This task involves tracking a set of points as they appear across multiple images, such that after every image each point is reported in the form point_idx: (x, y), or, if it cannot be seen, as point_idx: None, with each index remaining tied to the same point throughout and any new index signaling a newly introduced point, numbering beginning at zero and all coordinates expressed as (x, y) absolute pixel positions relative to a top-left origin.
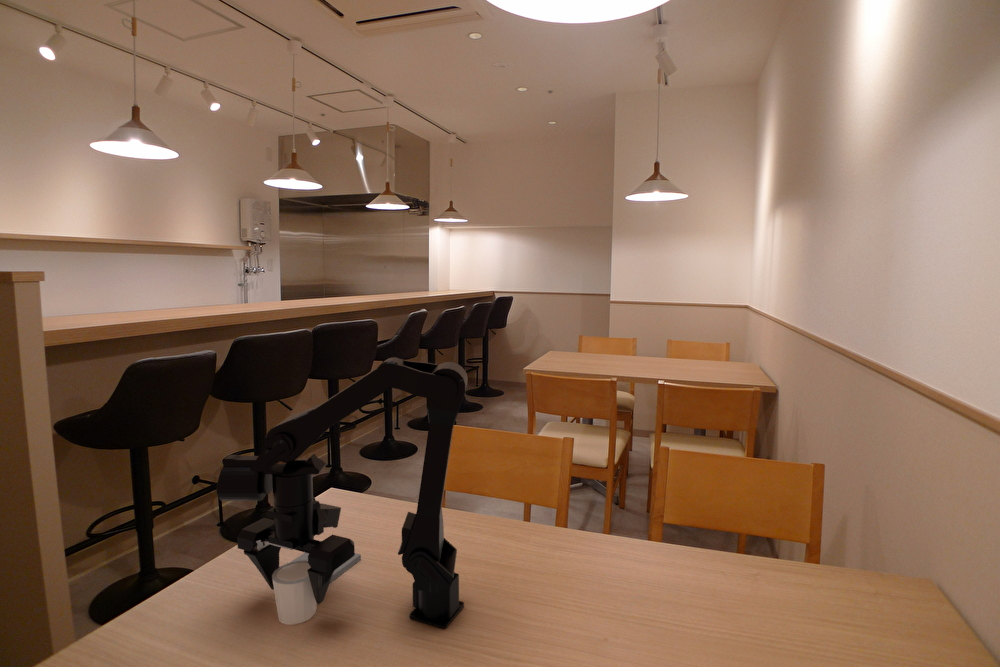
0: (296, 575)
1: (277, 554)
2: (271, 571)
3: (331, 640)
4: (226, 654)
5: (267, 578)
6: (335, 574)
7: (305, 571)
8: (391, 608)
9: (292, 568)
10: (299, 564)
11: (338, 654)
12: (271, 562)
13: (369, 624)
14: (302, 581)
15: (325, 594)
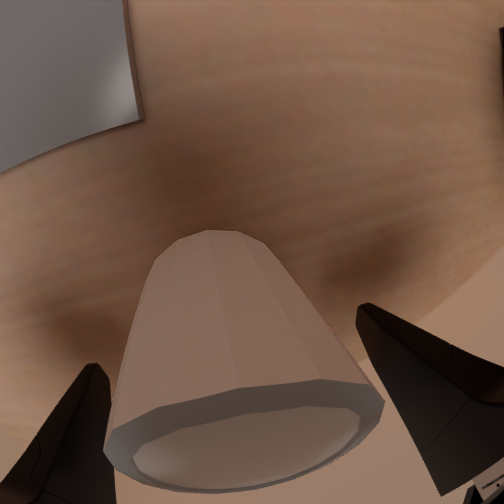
0: (287, 461)
1: (52, 497)
2: (95, 456)
3: (401, 292)
4: None
5: None
6: (126, 24)
7: (302, 436)
8: (468, 102)
9: (196, 462)
10: (182, 439)
11: (431, 303)
12: (86, 492)
13: (454, 193)
14: (354, 447)
15: (391, 314)
